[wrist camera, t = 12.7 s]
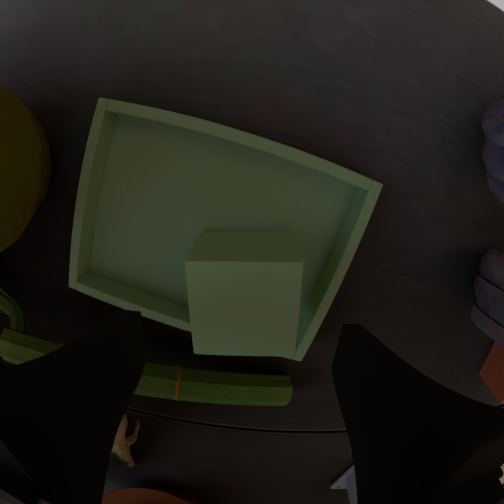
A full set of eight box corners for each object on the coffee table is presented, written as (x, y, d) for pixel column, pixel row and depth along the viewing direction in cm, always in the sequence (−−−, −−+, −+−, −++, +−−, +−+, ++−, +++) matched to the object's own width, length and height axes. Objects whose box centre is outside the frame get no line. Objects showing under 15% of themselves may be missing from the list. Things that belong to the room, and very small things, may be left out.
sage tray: (368, 178, 15) (383, 184, 13) (297, 340, 19) (301, 361, 17) (116, 101, 14) (98, 97, 12) (84, 272, 17) (68, 287, 15)
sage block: (291, 229, 16) (303, 262, 11) (286, 306, 17) (295, 356, 13) (203, 228, 16) (184, 260, 11) (207, 305, 17) (193, 354, 13)
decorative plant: (272, 437, 19) (-81, 351, 11) (255, 354, 26) (-43, 291, 18) (307, 394, 16) (-109, 294, 8) (279, 302, 23) (-57, 236, 15)
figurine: (145, 449, 27) (137, 390, 19) (136, 483, 23) (118, 444, 15) (115, 439, 27) (91, 373, 19) (104, 471, 23) (68, 423, 15)
